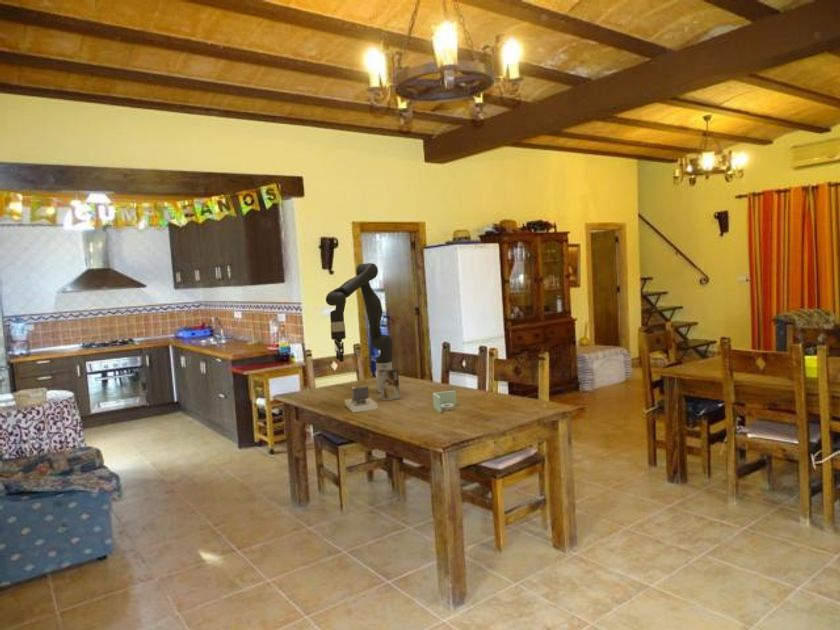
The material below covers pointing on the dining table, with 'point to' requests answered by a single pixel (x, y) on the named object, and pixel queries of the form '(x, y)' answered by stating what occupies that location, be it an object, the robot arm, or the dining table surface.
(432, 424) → the dining table surface
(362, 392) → the wing knob
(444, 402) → the right angle wall
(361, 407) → the levelling base
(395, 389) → the coffee box
